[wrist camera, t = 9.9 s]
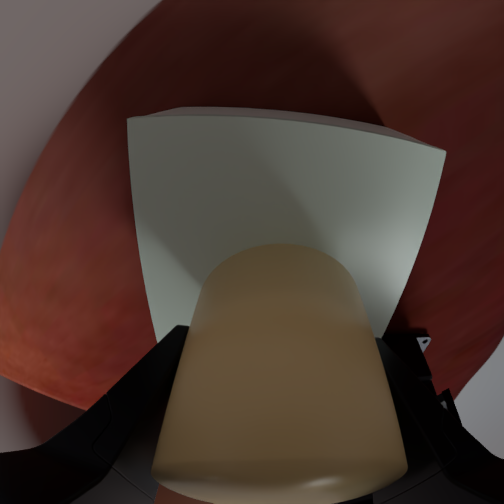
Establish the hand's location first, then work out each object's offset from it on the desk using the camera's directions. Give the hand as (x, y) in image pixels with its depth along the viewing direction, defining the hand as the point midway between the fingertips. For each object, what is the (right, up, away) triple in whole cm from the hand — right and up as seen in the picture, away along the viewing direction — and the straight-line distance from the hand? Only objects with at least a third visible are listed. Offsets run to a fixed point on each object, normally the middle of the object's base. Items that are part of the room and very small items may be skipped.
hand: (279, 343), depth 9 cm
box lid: (0, +3, +3) cm, 4 cm away
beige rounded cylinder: (0, +1, +1) cm, 1 cm away
